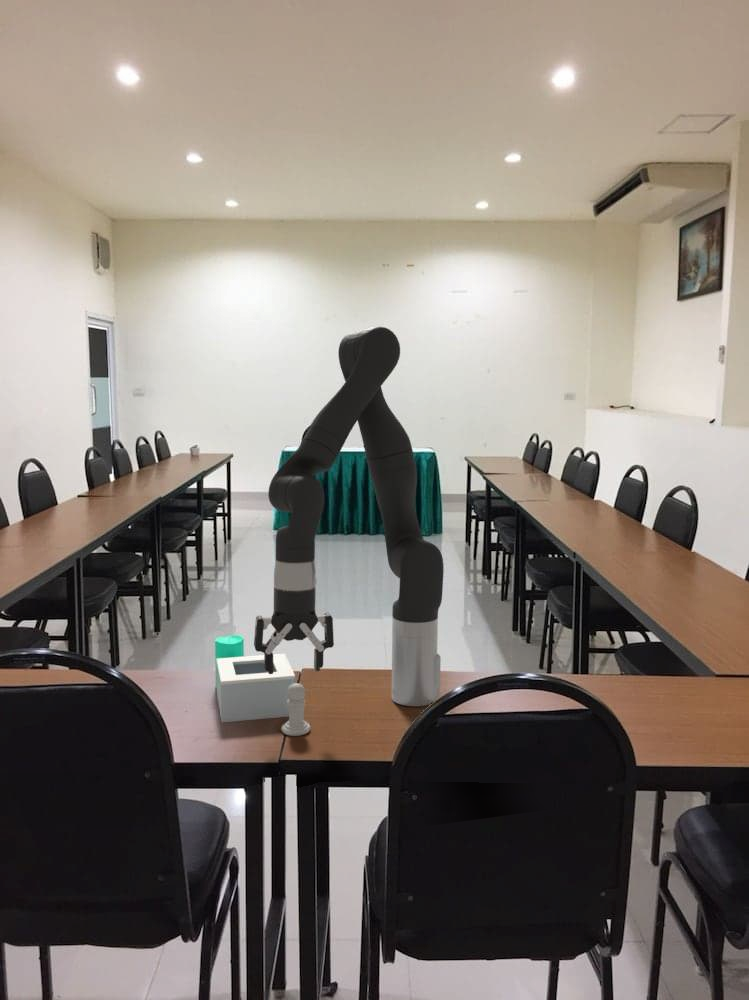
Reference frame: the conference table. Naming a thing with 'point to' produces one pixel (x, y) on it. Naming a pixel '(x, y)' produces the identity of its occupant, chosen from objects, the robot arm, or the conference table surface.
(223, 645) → the candle
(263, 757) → the conference table surface
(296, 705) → the chess piece
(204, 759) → the conference table surface
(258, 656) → the tissue box
